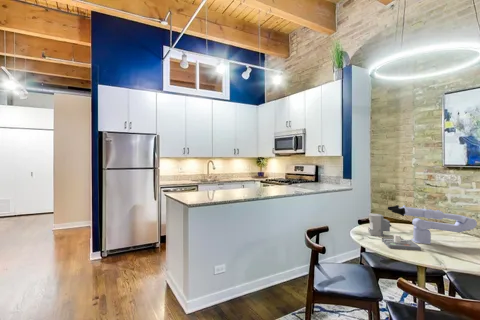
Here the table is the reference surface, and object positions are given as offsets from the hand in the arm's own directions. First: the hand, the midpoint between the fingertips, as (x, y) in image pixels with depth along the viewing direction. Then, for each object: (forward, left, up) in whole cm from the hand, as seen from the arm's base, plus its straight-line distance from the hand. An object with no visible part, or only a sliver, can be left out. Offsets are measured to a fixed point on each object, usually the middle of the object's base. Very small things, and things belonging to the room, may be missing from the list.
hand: (390, 209), depth 182 cm
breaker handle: (-1, +12, -19) cm, 23 cm away
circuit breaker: (+3, -11, -22) cm, 25 cm away
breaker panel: (-3, +12, -22) cm, 25 cm away
